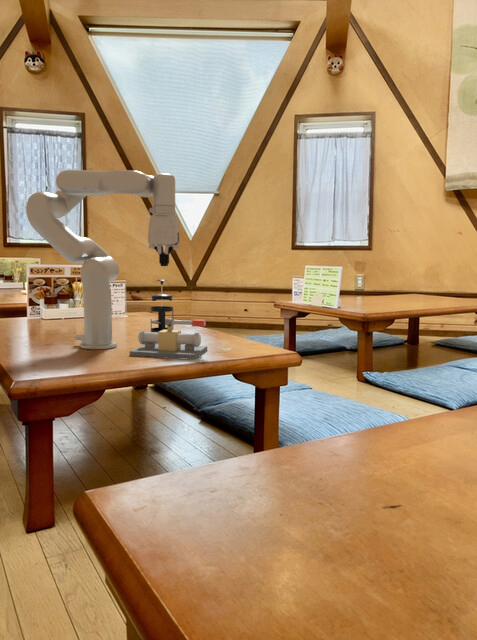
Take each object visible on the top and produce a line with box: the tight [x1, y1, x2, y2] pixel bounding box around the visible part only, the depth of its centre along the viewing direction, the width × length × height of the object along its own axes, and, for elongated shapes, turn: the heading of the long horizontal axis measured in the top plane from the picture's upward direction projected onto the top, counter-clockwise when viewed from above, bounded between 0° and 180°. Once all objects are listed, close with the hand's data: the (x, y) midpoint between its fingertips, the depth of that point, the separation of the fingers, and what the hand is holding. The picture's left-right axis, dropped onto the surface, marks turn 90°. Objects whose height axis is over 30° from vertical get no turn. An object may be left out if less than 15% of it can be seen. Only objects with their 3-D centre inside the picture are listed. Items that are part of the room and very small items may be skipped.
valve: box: [129, 325, 208, 360], centre depth 177 cm, size 22×16×9 cm
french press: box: [150, 279, 174, 333], centre depth 209 cm, size 12×9×23 cm
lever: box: [165, 317, 207, 328], centre depth 176 cm, size 14×3×2 cm, turn 82°
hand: (164, 265), depth 181 cm, fingers closed
